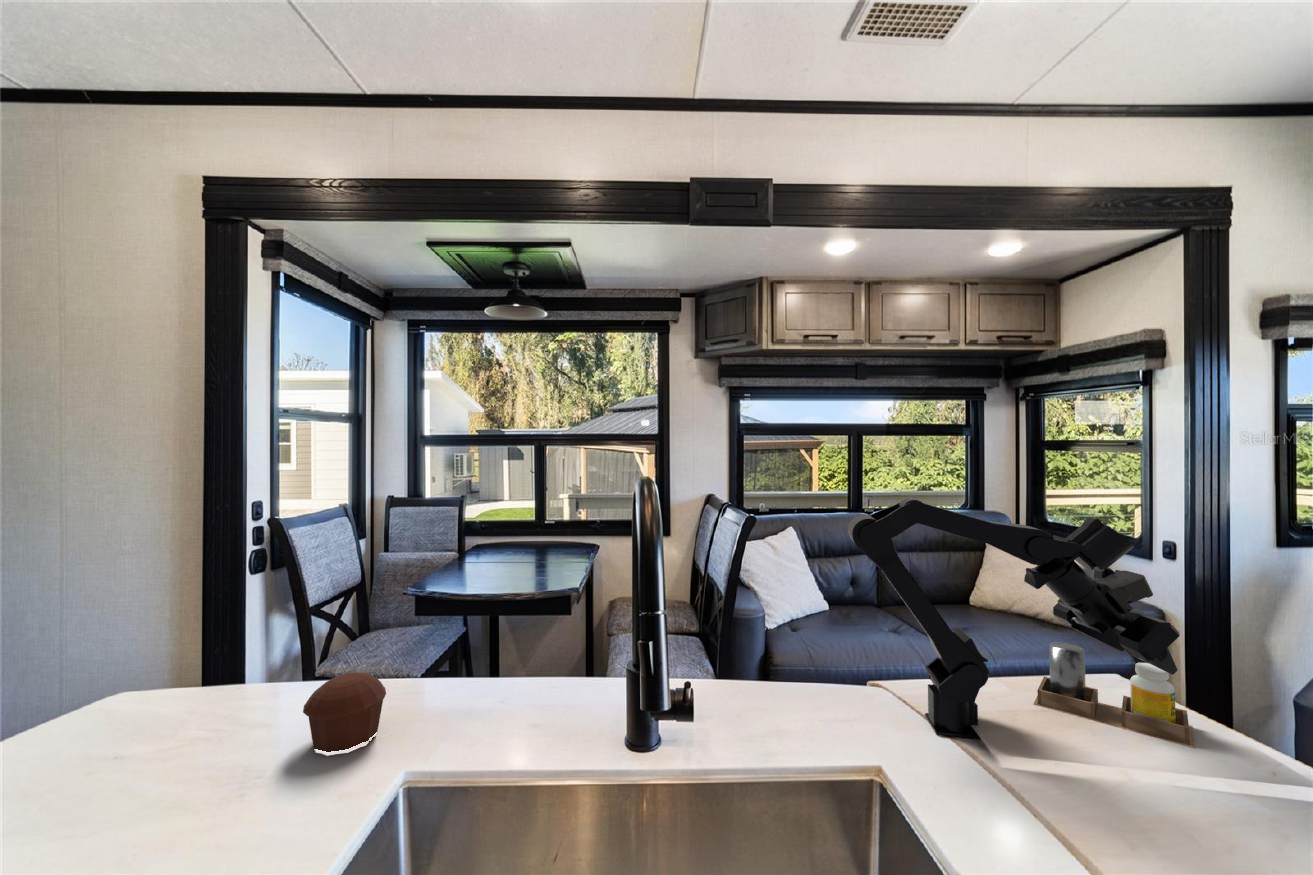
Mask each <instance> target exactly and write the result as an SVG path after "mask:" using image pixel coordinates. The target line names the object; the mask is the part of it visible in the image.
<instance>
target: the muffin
mask: <svg viewBox="0 0 1313 875" xmlns="http://www.w3.org/2000/svg"><path fill="white" fill-rule="evenodd" d="M386 690H387V689H386V687H385V686H384V685H383V683H382V681H381V680H379V678H377V677H375V676H373V675H371V674H369V673H365V672H357V671H355V672H347V673H343V674H339V675H337V676H335V677H332V678H330V679H329V680H327V681H325V682H324V683H323V684H321V686H320V687H319V686H318V688H317V689H316V690H314V691H313V693H312V694H311V695H310V696H309V698H307V700H306V702H305V704H304V705H303V710H302V713H303V714H304V715H306V717H308V721H309V723H308V724H309V728H310V734H311V741H312V742H311V743H312V748H313V750H314V749H318V750H322V751H326V752H331V751H339V750H345V749H349V748H351V747H353V746H356V745H358V744H360V743H362V742H366V741H368V740H369V738H370V737H372V736H373V735H374V734H375V733H376V732H377V733H378V730H379V726H380V725H379V724H380V720H381V713H382V709H383V708H382V707H383V704H384V699H385V698H386V695H387V692H386Z"/></svg>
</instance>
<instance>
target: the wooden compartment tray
mask: <svg viewBox="0 0 1313 875" xmlns="http://www.w3.org/2000/svg"><path fill="white" fill-rule="evenodd" d="M1085 687H1086V701H1083V700H1080V699H1076V698H1072V697H1068V696H1064V695H1060V694H1056V693H1052V692H1050V677H1047V676H1043V678H1042V679H1041V682H1040V684H1039V686H1038V688H1037V689H1036V690H1037V695H1036V698H1035V700H1034V702H1033V703H1032V705H1035V706H1038V707H1042V708H1046V709H1048V710H1053V711H1057V712H1060V713H1064V714H1068V715H1070V716H1074V717H1078V718H1081V719H1085V720H1090V721H1093V722H1097V723H1100V724H1103V725H1104V724H1105V725H1108V726H1112V727H1115V728H1119V729H1122V730H1127V731H1129V732H1134V733H1137V734H1141V735H1145V736H1148V737H1151V738H1155V739H1159V740H1163V741H1167V742H1171V743H1175V744H1178V745H1182V746H1185V747H1189V748H1192V749H1196V744H1195V736H1194V730H1193V725H1190V724H1189V717H1188V715H1189V714H1188V710H1187V709H1186V710H1185V709H1183V708H1178V707H1175V713H1176V724H1174V723H1170V722H1166V721H1162V720H1158V719H1154V718H1150V717H1146V716H1142V715H1139V714H1135V713H1131V696H1127V695H1123V696H1122V704H1121V707H1119V706H1114V705H1111V704H1107V703H1102V702H1099V691H1098V689H1097V688H1094V687H1090V686H1086V685H1085Z"/></svg>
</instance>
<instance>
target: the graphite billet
mask: <svg viewBox="0 0 1313 875" xmlns="http://www.w3.org/2000/svg"><path fill="white" fill-rule="evenodd" d="M1048 646H1049V648H1048V649H1049V650H1048V651H1049V652H1048V654H1049V678H1050V692H1052V693H1056V694H1060V695H1064V696H1068V697H1072V698H1076V699H1080V700H1083V701H1086V687H1087V686H1086V658H1085V657H1086V656H1085V654H1086V652H1085V649H1084V648H1083V647H1081V646H1078V645H1076V644H1072V643H1067V642H1060V641H1059V642H1058V641H1057V642H1056V641H1054V642H1050V643H1049V644H1048ZM1085 686H1086V687H1085Z"/></svg>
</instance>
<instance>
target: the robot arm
mask: <svg viewBox="0 0 1313 875" xmlns="http://www.w3.org/2000/svg"><path fill="white" fill-rule="evenodd" d="M917 524H920V525H923V526H926V527H929V528H934V529H937V530H940V531H943V532H946V533H949V534H954V535H957V536H961V537H963V538H968V539H970V540H975V541H977V542H981V543H983V544H987V545H989V546H991V547H993V548H995V549H997V550H1000V551H1002V552H1003V553H1006V554H1008V555H1010V556H1012V557H1014V558H1017V559H1018V560H1022V561H1024V562H1026V563H1028V564H1031V565H1033V566H1035V567H1026V568H1025V574H1024V579H1023V581H1024V583H1026V585H1027V584H1028V585H1029V586H1031V587H1032V588H1034V589H1036V590H1039V589H1041V588H1042V587H1043V586H1046V587H1047V588H1049V590H1050V591H1052V593H1053V594H1054V595H1055V596H1056V597H1057V598H1058V600H1057V601H1056V602H1057V603H1056V604H1055V605H1054V606H1052V614H1053V616H1054V617H1055V618H1056V619H1057V620H1058V621H1059V622H1060V623H1062V624H1064V625H1067V626H1068V627H1069V628H1071V629H1073V630H1076V631H1077V632H1080V633H1081V634H1084V635H1086V636H1088V637H1089V638H1092V639H1094V640H1096V641H1099V642H1101V643H1103V644H1105V645H1107V646H1108V647H1110V648H1113V649H1115V650H1117V651H1119V652H1122V653H1123V652H1124V651H1125V650H1126V651H1127V652H1129V655H1130V656H1133V657H1135V658H1137V659H1139V660H1140V661H1142V662H1143V661H1144V663H1149V664H1151V665H1153V666H1155V667H1157V668H1159V669H1161V670H1163V671H1166V672H1168V673H1169V675H1175V674H1176V673H1177V672H1178V667H1177V665H1176V663H1175V661H1174V659H1173V656H1172V654H1171V652H1170V649H1169V647H1170V645H1172V644H1173V643H1174V642H1175V641H1176V640H1177V639H1179V637H1180V631H1179V630H1178V629H1177V628H1176V627H1175V626H1174V625H1173V624H1172V623H1170V622H1168V621H1166V620H1163V619H1160V618H1157V617H1155V616H1152V615H1147V614H1145V615H1143V614H1141V615H1139V616H1137V618H1135V619H1134V618H1131V617H1128V616H1125V614H1127V615H1128V614H1130V612H1131V611H1133V609H1134V608H1133V606H1131V604H1133V603H1136V602H1139V601H1140V600H1141V601H1142V600H1144V599H1146V598H1148V599H1149V598H1151V597H1153V596H1154V592H1153V590H1152V588H1151V587H1150V585H1149V582H1148V580H1147V578H1146V576H1145V575H1144V574H1141V573H1138V572H1137V573H1136V572H1133V571H1130V570H1120V569H1115V570H1113V569H1112V568H1110V567H1111V566H1113V564H1115V563H1116V562H1117V561H1118V560H1120V559H1121V558H1122V557H1123V556H1125V555H1126V554H1127V553H1129V552H1130V551H1132V549H1134V547H1135V546H1134V545H1133V543H1132V542H1131V540H1129V538H1128V537H1127V536H1125V535H1124V534H1123V533H1121V532H1118V531H1117V530H1116V529H1114V528H1112V527H1110V526H1109V525H1107V524H1105V523H1103V522H1102V520H1100V519H1099V518H1096V517H1088V518H1087V519H1085V520H1084V521H1083V522H1082V524H1081V525H1079V527H1078V528H1076V529H1075V530H1074V531H1073V532H1071V534H1069V535H1068V536H1066V537H1061V536H1058V535H1055V534H1053V535H1052V534H1051V533H1050V532H1047V531H1046V530H1043V529H1039V528H1036V527H1032V526H1029V525H1025V524H1019V523H1018V524H1017V523H1010V522H1001V521H1000V522H999V521H990V520H985V519H981V518H976V517H975V516H974V517H973V516H971V515H966V514H963V513H959V512H956V511H954V510H953V511H952V510H949V509H945V508H943V507H942V508H941V507H938V506H935V505H932V504H928V503H924V502H922V501H921V500H918V499H915V498H910V497H909V498H905V499H903V500H901V501H900V502H898V503H895V504H894V505H891V506H887V507H886V508H882V509H879V510H878V511H876V512H874V513H871V514H869V515H867V514H859V515H857V516H854V517H853V518H852V519H851V520H850V522H849V524H848V528H847V533H848V536H849V538H850V540H851V541H852V542H853V543H854V544H855V546H856V547H857V548H858V549H859V550H860V551H861V552H862V553H863V554H864V555H865V556H866V557H867V558H868V559H869V560H870V561H871V562H872V563H873V564H874V565H875V566H876V567H877V568H878V569H880V572H882V573H883V575H884V576H885V577H886V579H887V580H888V582H889V583H890V584H891V586H892V587H893V588H894V590H895V592H896V593H897V595H898V596H899V597H900V599H901V600H902V602H904V604H905V606H906V607H907V608H908V610H909V611H910V612H911V614H912V615H913V617H914V619H916V621H917V622H918V623H919V625H920V627H921V628H922V629H923V631H924V632H925V633H926V635H927V637H928V639H929V641H930V644H931V646H932V649H933V651H934V653H935V655H936V657H935V658H934V659H933V660H932V661H931V662H929V663H928V664H927V665H926V666H925V667H924V669H925V671H926V674H927V676H928V678H929V680H930V681H931V682H932V684H930V683H929V684H927V711H928V712H926V713H924V716H925V719H926V720H927V722H928V723H929V725H930V727H931V728H932V729H933V732H934V733H935V734H936V735H939V736H950V737H958V738H968V739H980V735H979V734H978V733H977V731H976V730H975V729H974V726H978V725H979V711H978V710H979V708H978V707H979V706H978V703H976V700H977V697H978V695H979V693H980V690H981V689H982V688H983V687H985V686H986V683H987V682H988V681H989V675H990V671H989V669H988V666H987V665H986V663H988V662H989V660H988V659H987V658H986V656H984V655H983V654H982V652H981V651H979V649H978V648H977V646H976V644H975V642H974V640H973V639H972V638H971V636H969V634H967V633H966V632H965V631H964V630H963V628H961V627H958V628H956V629H955V630H954V631H953V630H952V629H951V627H949V625H948V624H947V622H946V621H945V620H944V618H943V616H941V614H940V613H939V611H938V610H937V608H936V607H935V606H934V604H933V603H932V602H931V601H930V598H928V596H927V594H926V593H925V592H924V591H923V589H922V587H920V585H919V584H918V582H917V581H916V580H915V578H914V577H913V575H912V574H911V573H910V571H909V570H908V569H907V567H906V566H905V565H904V563H903V561H901V558H900V556H899V553H898V551H897V548H896V546H895V544H894V542H893V540H892V538H895V537H897V536H899V535H900V534H902V533H904V532H905V531H906V530H908V529H909V528H911V527H913V526H914V525H917ZM1079 564H1080V565H1081V566H1082V567H1083V568H1085V569H1087V570H1088V571H1093V578H1092V577H1091V576H1090V575H1089V574H1088V573H1087V571H1085V570H1084V569H1083V568H1082V567H1081V566H1080V565H1079ZM1114 629H1115V630H1117V631H1120V632H1121V633H1119V634H1117V633H1116V631H1115V630H1114Z"/></svg>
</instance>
